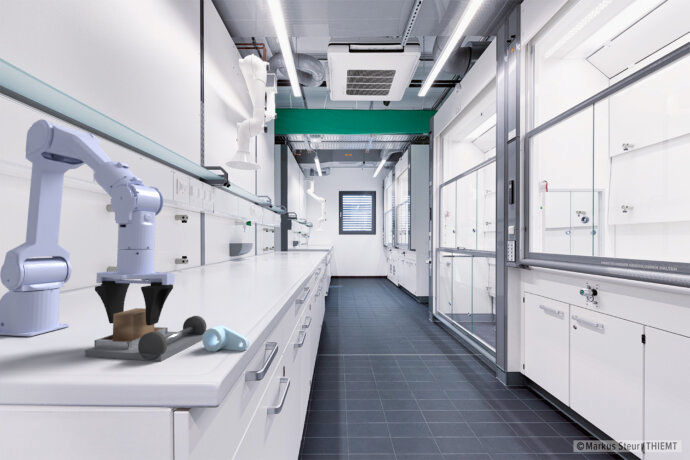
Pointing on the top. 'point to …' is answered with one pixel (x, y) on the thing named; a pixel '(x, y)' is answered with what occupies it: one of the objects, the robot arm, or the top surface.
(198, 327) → the chassis
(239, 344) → the mechanical part
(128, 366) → the top surface
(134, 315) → the block
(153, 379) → the top surface
